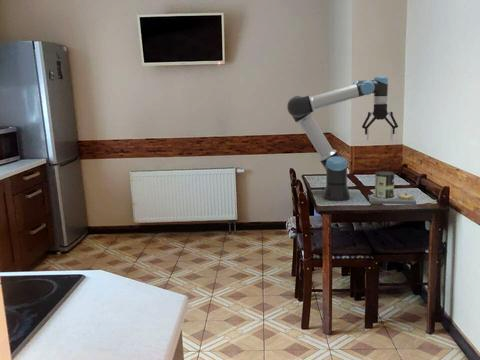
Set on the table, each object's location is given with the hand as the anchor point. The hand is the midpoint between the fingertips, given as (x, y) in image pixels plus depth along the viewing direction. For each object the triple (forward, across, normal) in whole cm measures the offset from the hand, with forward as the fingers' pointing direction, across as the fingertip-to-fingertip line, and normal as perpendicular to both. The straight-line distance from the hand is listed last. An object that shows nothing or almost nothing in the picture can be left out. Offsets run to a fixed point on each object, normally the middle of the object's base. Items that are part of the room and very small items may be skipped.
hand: (379, 139), depth 273 cm
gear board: (+32, -5, +20) cm, 38 cm away
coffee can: (+30, -1, +20) cm, 36 cm away
